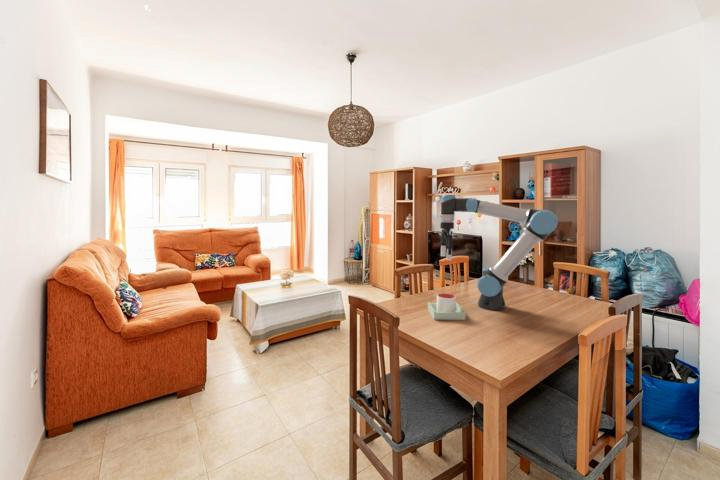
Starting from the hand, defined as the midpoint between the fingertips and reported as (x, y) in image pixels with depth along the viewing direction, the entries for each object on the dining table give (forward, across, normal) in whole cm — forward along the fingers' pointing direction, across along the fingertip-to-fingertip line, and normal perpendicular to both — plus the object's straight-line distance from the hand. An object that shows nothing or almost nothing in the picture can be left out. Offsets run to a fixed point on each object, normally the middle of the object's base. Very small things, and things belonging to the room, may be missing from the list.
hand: (445, 258), depth 190 cm
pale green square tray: (+29, +15, -3) cm, 33 cm away
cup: (+28, +15, -3) cm, 32 cm away
